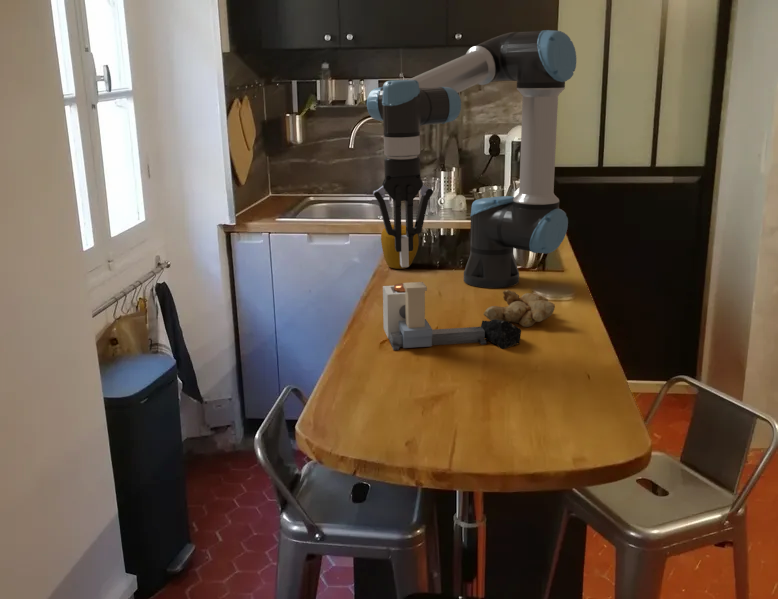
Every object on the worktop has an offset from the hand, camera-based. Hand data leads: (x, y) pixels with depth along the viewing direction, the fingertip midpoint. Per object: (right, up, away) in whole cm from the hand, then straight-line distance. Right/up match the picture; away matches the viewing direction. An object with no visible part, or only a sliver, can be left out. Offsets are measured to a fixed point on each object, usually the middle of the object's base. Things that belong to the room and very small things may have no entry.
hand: (404, 265), depth 172 cm
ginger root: (+28, -13, +11) cm, 33 cm away
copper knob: (0, -10, +3) cm, 11 cm away
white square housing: (0, -15, +4) cm, 15 cm away
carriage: (+2, -17, -3) cm, 17 cm away
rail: (+7, -17, -3) cm, 18 cm away
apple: (0, +2, +62) cm, 62 cm away
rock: (+20, -17, -2) cm, 26 cm away
